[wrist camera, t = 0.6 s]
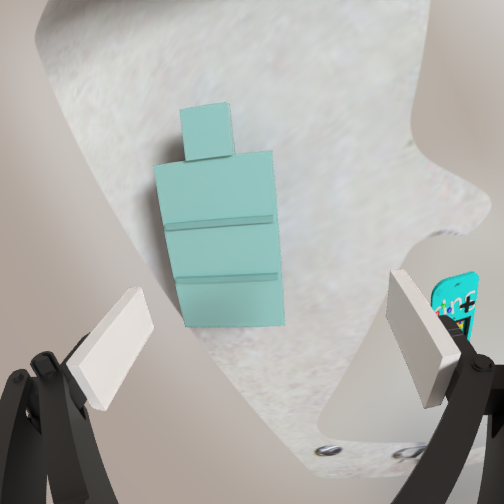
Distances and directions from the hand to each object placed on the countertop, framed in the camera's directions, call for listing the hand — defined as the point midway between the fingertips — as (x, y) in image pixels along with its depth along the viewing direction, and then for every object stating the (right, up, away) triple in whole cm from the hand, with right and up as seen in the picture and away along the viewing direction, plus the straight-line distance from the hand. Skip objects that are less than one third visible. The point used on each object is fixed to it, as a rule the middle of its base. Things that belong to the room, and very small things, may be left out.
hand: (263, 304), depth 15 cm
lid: (-4, +6, +16) cm, 18 cm away
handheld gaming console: (+30, -8, +24) cm, 39 cm away
